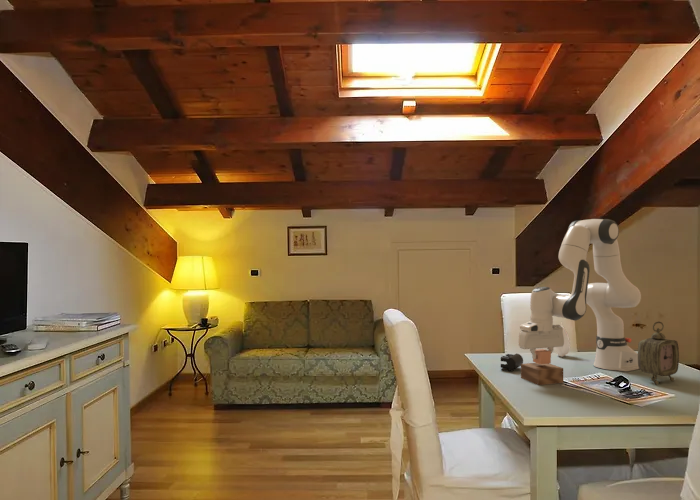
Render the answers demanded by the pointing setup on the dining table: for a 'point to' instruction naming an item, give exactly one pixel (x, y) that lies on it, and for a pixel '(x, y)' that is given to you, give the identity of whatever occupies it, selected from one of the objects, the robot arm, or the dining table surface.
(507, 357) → the end cap
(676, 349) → the tabletop clock
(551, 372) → the walnut block
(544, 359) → the terracotta block
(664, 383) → the dining table surface
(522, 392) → the dining table surface
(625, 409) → the dining table surface
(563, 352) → the white teardrop ornament
